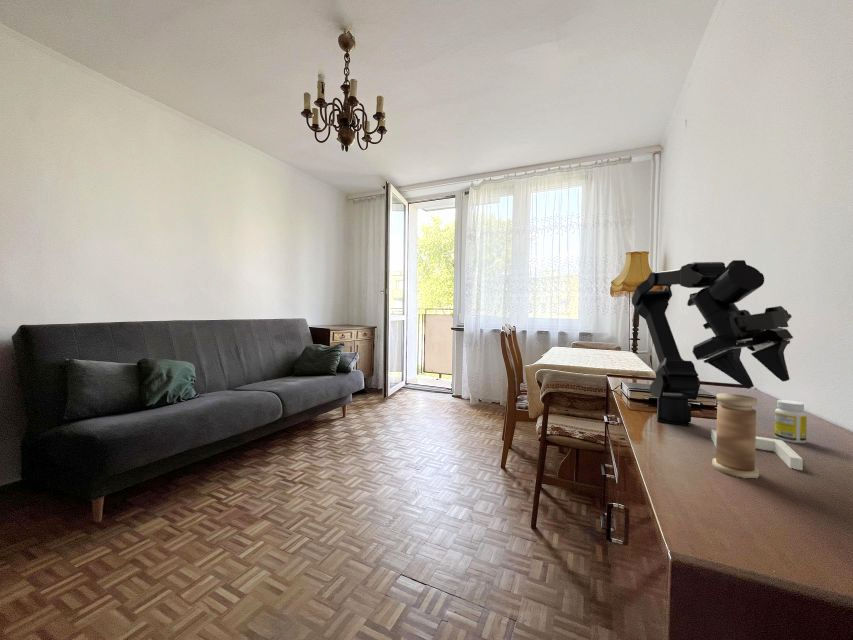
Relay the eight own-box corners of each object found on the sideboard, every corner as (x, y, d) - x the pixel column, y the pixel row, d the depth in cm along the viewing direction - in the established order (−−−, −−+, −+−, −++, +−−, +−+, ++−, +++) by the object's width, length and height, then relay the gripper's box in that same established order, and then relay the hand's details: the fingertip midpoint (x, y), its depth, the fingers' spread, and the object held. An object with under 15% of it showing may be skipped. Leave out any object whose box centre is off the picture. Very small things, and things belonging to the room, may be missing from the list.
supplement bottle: (796, 437, 75) (797, 400, 75) (812, 445, 71) (813, 405, 71) (769, 434, 77) (770, 398, 77) (783, 442, 72) (784, 403, 72)
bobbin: (715, 472, 58) (716, 397, 58) (709, 460, 63) (711, 391, 63) (763, 482, 54) (765, 403, 54) (753, 468, 59) (755, 395, 59)
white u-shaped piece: (720, 455, 65) (720, 445, 65) (711, 438, 74) (711, 429, 74) (802, 470, 59) (802, 459, 59) (781, 450, 68) (781, 440, 68)
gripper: (721, 296, 61) (778, 376, 54) (794, 288, 66) (855, 362, 59) (673, 324, 71) (716, 396, 64) (739, 316, 75) (786, 382, 68)
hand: (768, 384), depth 63 cm, fingers open, 9 cm apart
